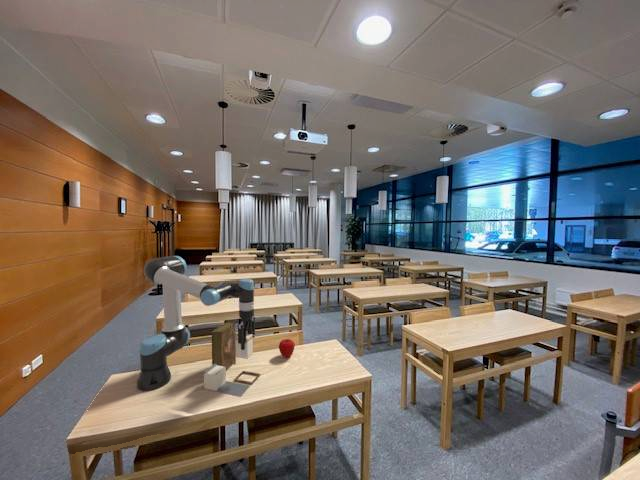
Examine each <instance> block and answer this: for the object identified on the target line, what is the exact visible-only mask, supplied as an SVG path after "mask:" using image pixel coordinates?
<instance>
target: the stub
mask: <svg viewBox="0 0 640 480" xmlns="http://www.w3.org/2000/svg"><path fill="white" fill-rule="evenodd" d="M253 336H254V335H253V334H248V333H247V334H246V342H245V343H246V349H247V355H246V356H244V355H241V344H239V343H238V334H237V335H235V343H236V358H239V359H243V360H244V359H245V360H248V359H250V358H251V357H252V356H253V353H254V352H253V348H254V347H253V346H254V344H253V342H254V341H253V339H254V338H253Z"/></svg>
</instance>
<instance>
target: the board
mask: <svg viewBox="0 0 640 480" xmlns="http://www.w3.org/2000/svg"><path fill="white" fill-rule="evenodd" d="M250 387H251V385H250V384H248V385H247V384H245V383H240V382H238V383H237V382H232V381H228V380H226V382H225V383H224V384H223V385H222V386H221V387H220V388H219V389H218V390H217V391H214V390H209V389H204V386H203V387H202V388H201V389H202V390H205V391H206V390H207V391H210V392H215V393H220V394H225V395H230V396H235V397H239V398H241V397H242V396H243V395H244V394H245V393H246V392H247V391H248V389H249V388H250Z"/></svg>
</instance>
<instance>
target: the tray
mask: <svg viewBox="0 0 640 480" xmlns="http://www.w3.org/2000/svg"><path fill="white" fill-rule="evenodd" d="M243 374H247V375H252V376H256V377H255V378H254V379H253V380H252V381H248V380H245V379H244V380H243V379H239V378H240V377H241V376H242V375H243ZM260 377H261V373H258V372H252V371H248V370H242V371H241V372H240V373H239V374H238V375H237V376H236V377H235V378H233V381H234V382H235V383H237V382H238V383H240V384H245V385H247V384H248V385H253V384H254V383H255V382H256V381H257V380H258V379H259V378H260Z"/></svg>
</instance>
